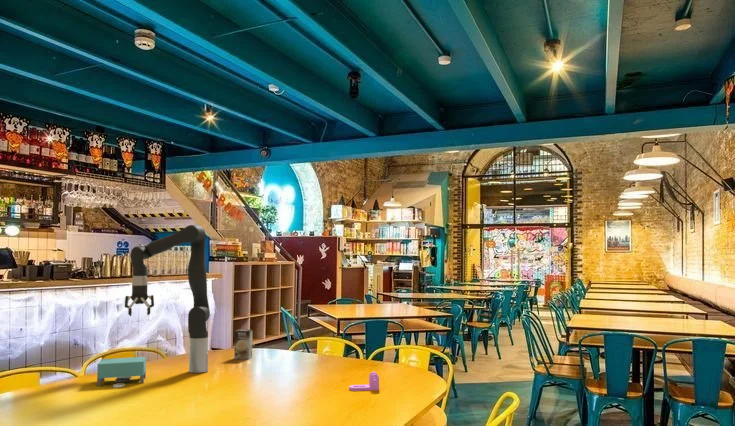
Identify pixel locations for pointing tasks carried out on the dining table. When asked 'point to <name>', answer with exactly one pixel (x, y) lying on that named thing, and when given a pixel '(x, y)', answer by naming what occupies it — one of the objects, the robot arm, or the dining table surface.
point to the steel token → (118, 385)
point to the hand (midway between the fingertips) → (139, 315)
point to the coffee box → (243, 344)
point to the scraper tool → (123, 379)
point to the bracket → (371, 386)
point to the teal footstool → (121, 368)
